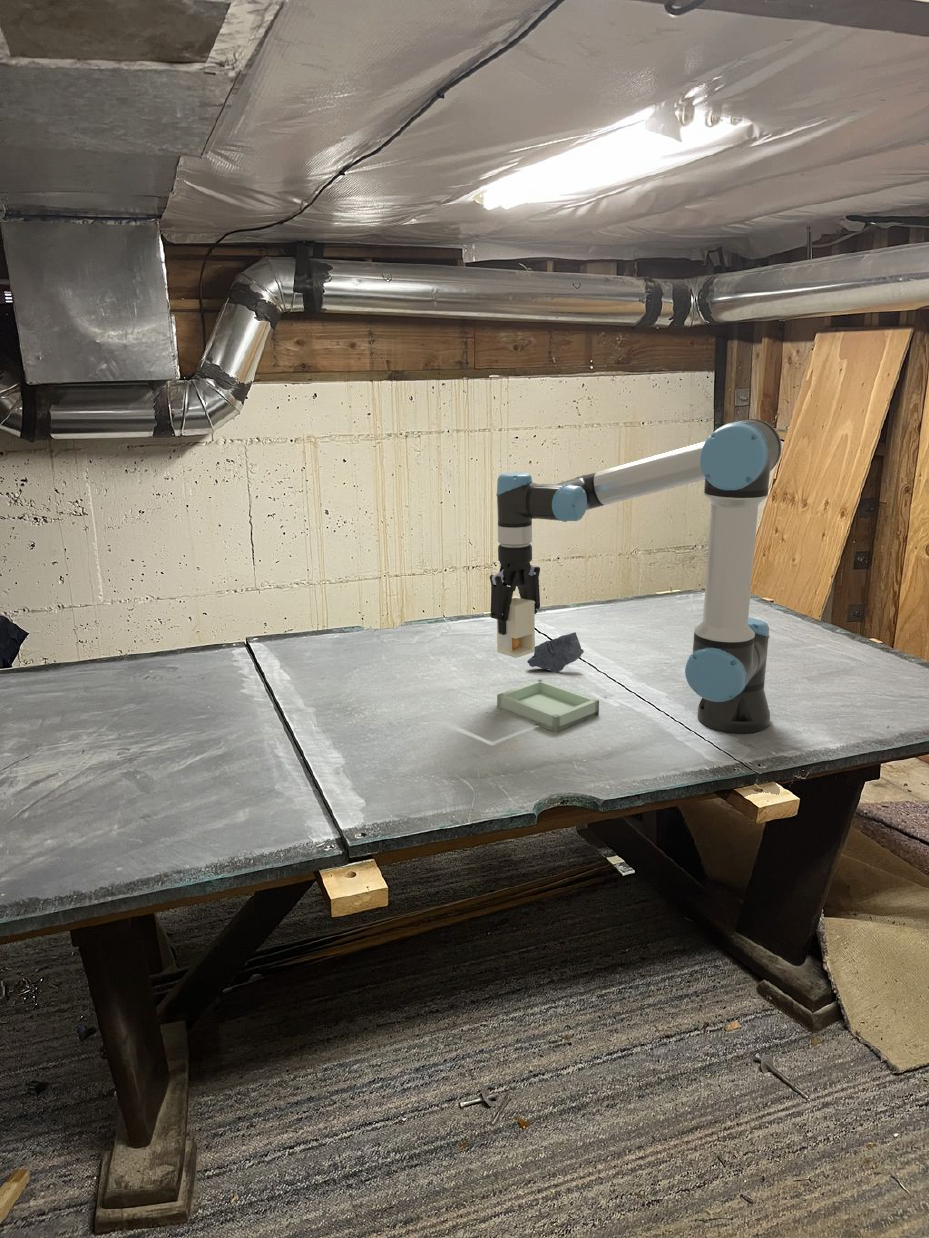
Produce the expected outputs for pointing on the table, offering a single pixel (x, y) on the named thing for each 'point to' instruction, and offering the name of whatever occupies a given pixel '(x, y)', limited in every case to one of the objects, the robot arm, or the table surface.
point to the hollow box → (520, 628)
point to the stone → (557, 653)
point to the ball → (515, 643)
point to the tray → (549, 705)
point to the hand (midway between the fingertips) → (516, 643)
